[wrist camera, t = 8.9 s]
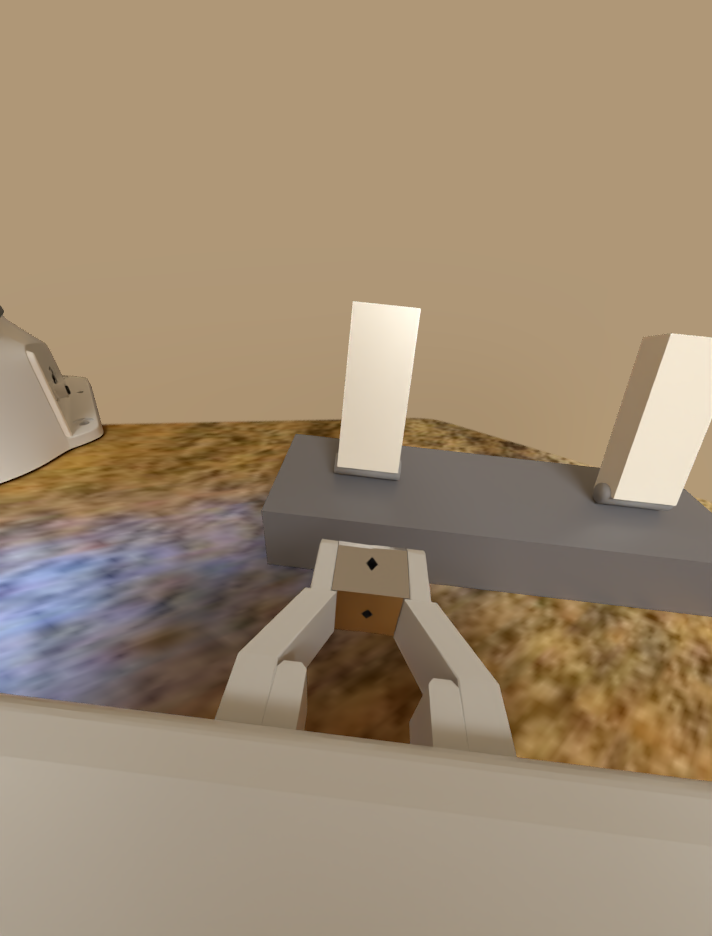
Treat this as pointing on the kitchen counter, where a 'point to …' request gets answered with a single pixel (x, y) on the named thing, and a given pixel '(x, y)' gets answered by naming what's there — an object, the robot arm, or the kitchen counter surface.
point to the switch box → (495, 526)
